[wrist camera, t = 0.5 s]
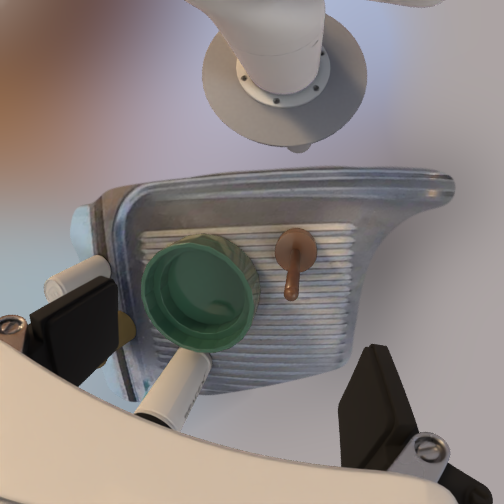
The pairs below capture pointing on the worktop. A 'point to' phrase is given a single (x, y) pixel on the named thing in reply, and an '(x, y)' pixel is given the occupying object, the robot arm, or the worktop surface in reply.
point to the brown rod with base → (295, 257)
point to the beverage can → (76, 277)
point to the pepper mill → (124, 330)
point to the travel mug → (176, 389)
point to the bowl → (201, 293)
